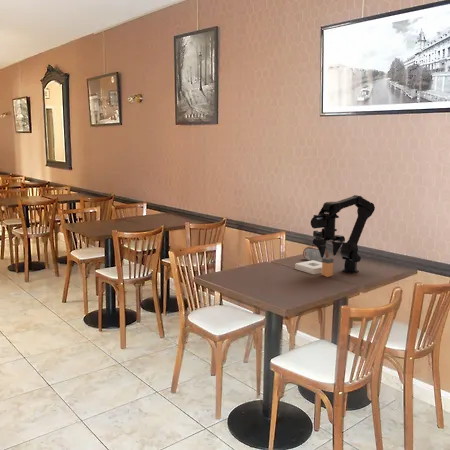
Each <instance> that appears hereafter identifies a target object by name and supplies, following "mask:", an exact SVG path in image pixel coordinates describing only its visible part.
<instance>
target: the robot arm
mask: <svg viewBox="0 0 450 450" xmlns="http://www.w3.org/2000/svg"><path fill="white" fill-rule="evenodd" d="M352 206H355V207H356V209H357V210H356V211H357V213H356V214H357V218H356V221H355V223H354V225H353V228H352V231H351V233H350V235H349V238H348V240H347V242H346V238H345V236H344V235H340V234H336V232H337V231H338V229H337V228H336V219H340V216H339V215H338V213H339V212H341V210H342V209H343V210H344V209H346V208H349V207H352ZM375 208H376V206H375V203H374V202H372V201H371V202H370V201H369V200H367V199H366V198H364V197H363V196H361V195H358V194H357V195H356V194H354V195H352V196H350V197H346V198H344V199H341V200H337V201H326V202H324V203H323V204H322V207H321V209H320V210H319V212H318V214H313V216H312V217H311V219H310V226H311V227H312V229H321V230H320V231H318V230H313V232H312V235H313V236H312V237H313V239H312V245H314V247H318V249H319V252H320V255H321V257H322V258H323V257H324V253H325V250H326V248H327V245H326V244H327V243H331V244H332V255H333V256H336V255H337V253H338V251H339V249H340V256H341V258H342V260H344V268H343V269H342V271H341V272H345V273H348V274H354V273H355V274H356V273H359V271H360V270H357V268H358V263H359V262H361V256H360V255H359V254H358V251H359V247H358V243H359V240H360V238H361V235H362V233H363V230H364V228H365V225H366V223H367V220H368V219H370V217H371V216H372V215H373V214H374V212H375V210H376V209H375Z"/></svg>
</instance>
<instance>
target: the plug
mask: <svg viewBox="0 0 450 450" xmlns="http://www.w3.org/2000/svg"><path fill="white" fill-rule="evenodd" d="M334 261H335V260H334V258H332V257H329V256H328V257H327V258H322V273H321V275H322V276H324V277H327V278H329V277H333V275H334Z"/></svg>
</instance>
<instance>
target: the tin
mask: <svg viewBox="0 0 450 450" xmlns="http://www.w3.org/2000/svg"><path fill="white" fill-rule="evenodd" d="M302 255H303V257H304V259H305V260H306V261H311V260H315V261H318V262H322V257H321V255H320V252H319V249H318V247H317V246H307V247H305V248H304V249H303V252H302ZM327 257H328V258H329V252H328V251H327V250H326V249H325V253H324V257H323V258H327Z"/></svg>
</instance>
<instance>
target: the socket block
mask: <svg viewBox="0 0 450 450" xmlns="http://www.w3.org/2000/svg"><path fill="white" fill-rule="evenodd" d="M294 269H295V270H298V271H300V272H304V273H307V274H310V275H318V274H322V262H318V261H315V260H311V261H308V260H306V261H300V262H297V263H295V264H294Z"/></svg>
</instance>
